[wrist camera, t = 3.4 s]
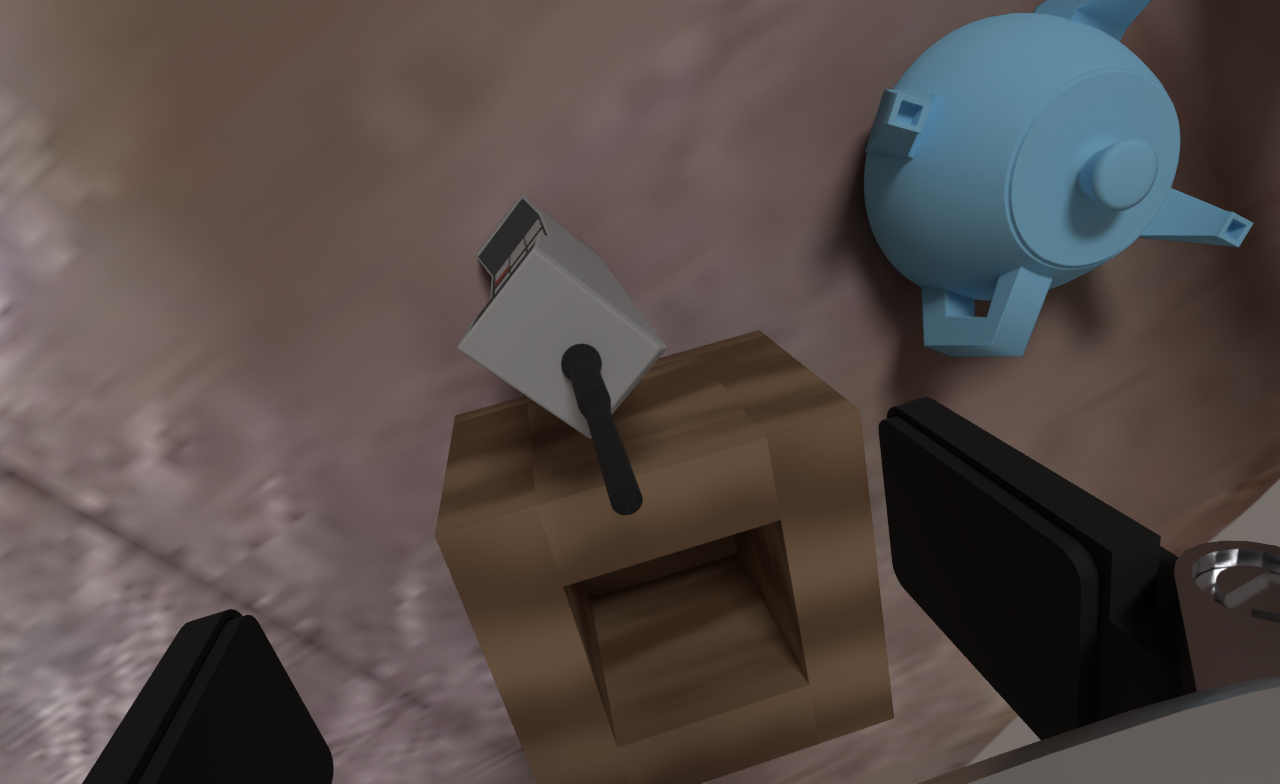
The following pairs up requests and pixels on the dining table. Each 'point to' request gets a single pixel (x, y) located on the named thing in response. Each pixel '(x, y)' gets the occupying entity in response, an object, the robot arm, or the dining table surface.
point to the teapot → (1025, 168)
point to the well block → (674, 572)
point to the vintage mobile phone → (563, 335)
